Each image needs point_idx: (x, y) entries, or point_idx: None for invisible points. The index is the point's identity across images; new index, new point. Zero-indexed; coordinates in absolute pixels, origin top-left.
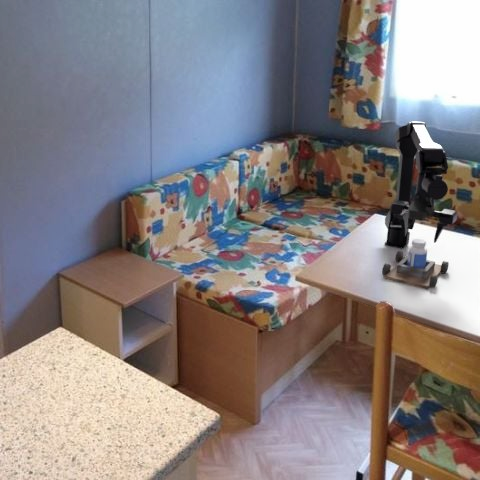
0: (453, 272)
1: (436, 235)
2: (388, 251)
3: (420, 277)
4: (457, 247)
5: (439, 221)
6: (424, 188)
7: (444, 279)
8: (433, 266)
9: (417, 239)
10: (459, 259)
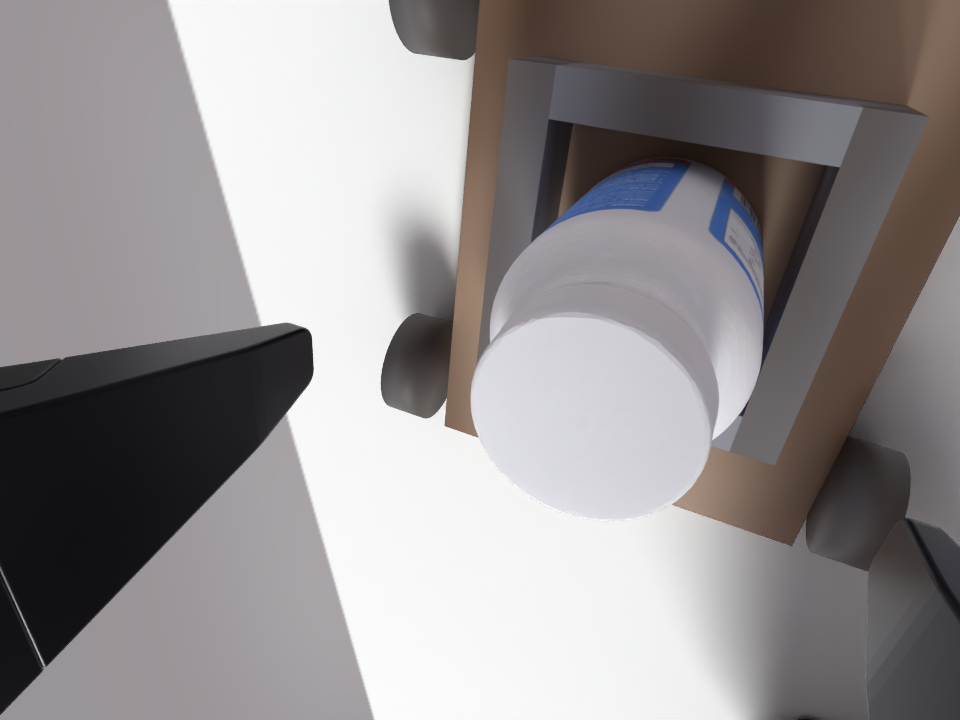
0: None
1: (156, 359)
2: None
3: (594, 63)
4: (447, 713)
5: None
6: None
7: (415, 213)
8: None
9: (615, 488)
10: (403, 570)
